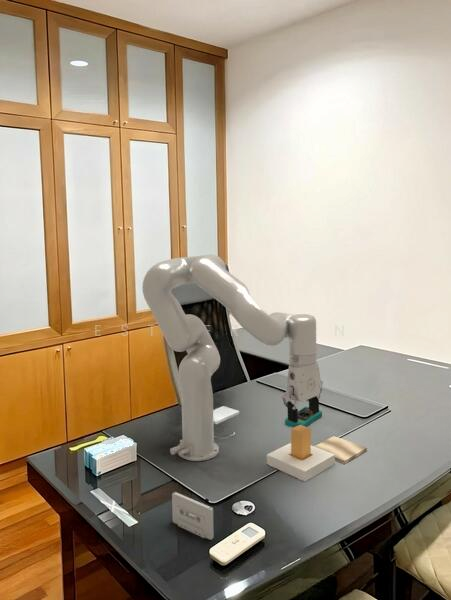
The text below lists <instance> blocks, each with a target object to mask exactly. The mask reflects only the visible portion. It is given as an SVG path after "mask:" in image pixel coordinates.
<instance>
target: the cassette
mask: <svg viewBox="0 0 451 600" xmlns="http://www.w3.org/2000/svg"><path fill="white" fill-rule="evenodd" d="M171 506H172V507H171V508H172V522H173V524H175V525H177V526H178V527H179V528H182V529H184V530H186V531H188V532H189V533H192V534H194V535H196V536H199V537H200V538H203V539H208V540H210V541H211V540H213V539H214V532H215V531H214V508H213V507H212V506H209V505H207V504H205V503H202V502H199V501H197V500H195V499H193V498H190V497H188V496H186V495H184V494H181V493H179V492H176V491H174V492H173V493H171Z"/></svg>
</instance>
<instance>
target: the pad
mask: <svg viewBox="0 0 451 600" xmlns="http://www.w3.org/2000/svg"><path fill="white" fill-rule="evenodd" d="M313 446H314V447H317V448H319V449H322V450H325V451H327V452H330V453H332V454H335V462H338V463H341V464H343V465H346V464H347V463H349V462H350V461H352V460H354V459H356V458H357V457H359V456H361V455H362V454H364V453H366V452H368V451H367V449H368V448H367V447H366V446H364V445H361V444H358V443H354V442H352V441H350V440H347V439H344V438H341V437H338V436H335V435H333V436H331V437H329V438H326V439H325V440H324V441H322V442H319V443H318V444H316V445H313Z"/></svg>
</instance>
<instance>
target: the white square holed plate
mask: <svg viewBox="0 0 451 600" xmlns="http://www.w3.org/2000/svg"><path fill="white" fill-rule="evenodd" d="M314 446H315V445H312V444H311V456H310V457H308V458H306V459H304V460H303V461H302V460H300V459H297V458H295V457H293V456H291V442H290V443H288V444H285V445H284V446H281V447H279V448H277V449H276V450H273V451H271V452H269V453H267V454H266V465H267V464H268V465H267V466H269V467H272V468H274V469H276V468H277V470H278V469H279V471H281V472H283V473H285V474H287V475H290V476H292V477H294V478H295V479H298V480H301V481H303V482H307V481H309V480H310V479H312V478H314V477H316V476H318V475H319V474H320V473H322V472H324V471H326V470H327V469H329V468H331V467H333V466H335V462H336V461H335V454H332V453H330V452H327V451H325V450H322V449H319V448H317V447H314Z"/></svg>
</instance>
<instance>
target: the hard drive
mask: <svg viewBox="0 0 451 600" xmlns="http://www.w3.org/2000/svg"><path fill="white" fill-rule="evenodd" d="M239 414H240V410H236V409H234V408H231V407H228V406H225V405H222V406H220V407H216V408H215V409H213V425H214V424H215V425H218V424H220V423H222V422H224V421H227V420H228V419H232V418H233V417H236V416H238V415H239Z"/></svg>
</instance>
